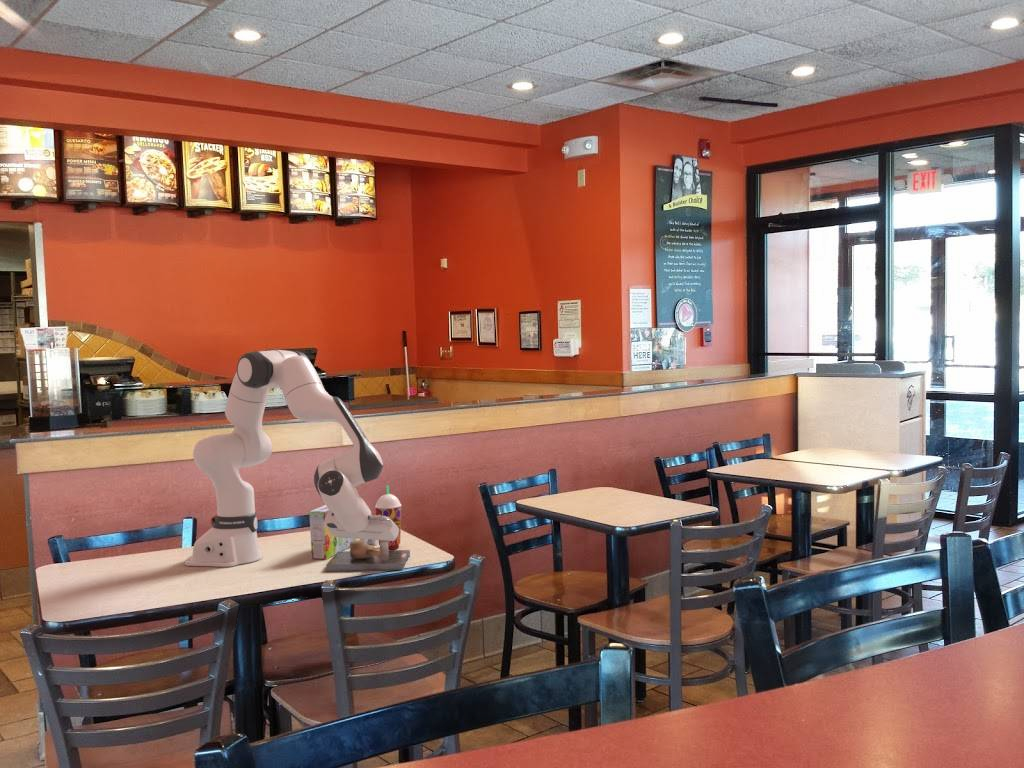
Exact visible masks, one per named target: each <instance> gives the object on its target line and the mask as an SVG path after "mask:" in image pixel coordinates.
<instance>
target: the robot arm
mask: <svg viewBox="0 0 1024 768" xmlns="http://www.w3.org/2000/svg"><path fill="white" fill-rule="evenodd" d="M278 388H281V391H282V393H283V396H284V400H285V402H286V404H287V407H288V409H289V411H290V413H291V414H292V415H293V417H295V418H296V419H298V420H299V421H302V422H307V423H326V422H327V423H329V422H330V423H338V424H339V425H340V426H341V427H342V429H343V430H344V432H345V433H346V435H347V436H348V438H349V440H350V441H351V442H352V444H353V446H352V447H353V448H352V449H350V450H348V451H346V452H344V453H341V454H339V455H337V456H334V457H332V458H329V459H327V460H325V461H323V462H321V463H320V464H318V465H317V467H316V469H315V471H314V475H313V482H314V487H315V489H316V491H317V493H318V495H319V496H320V498H321V499H322V501H323V503H324V505H326V506H327V507H328V509H329V511H328V513H327V515H326V517H325V520H324V525H325V526H326V527H327V529H328V531H329V532H330V533H331V535H333V536H335V537H339V538H355V539H356V540H362V541H364V542H366V544H367V545H374V547H375V546H376V547H378V545H379V540H387V541H395V540H396V538H397V536H398V534H399V528H398V527H397V525H396V524H395V523H394V522H393V521H392V520H391V519H390V518H388V517H386V516H376V514H375V515H372V511H371V509H370V507H369V506H368V505H367V503H366V502H365V500H364V499H363V498H362V497H361V496H360V495H359V492H358V489H357V488H356V487H358V486H360V485H362V484H364V483H368V482H371V481H374V480H376V479H378V478H379V477H380V475H381V474H382V472H383V469H384V462H383V459H382V457H381V455H380V453H379V451H378V450H377V449H376V448H375V447H374V446H373V445H372V443H371V442H370V441H369V439H368V438H367V436H366V434H365V433H364V431H363V430H362V428H361V426H360V425H359V423H358V422H357V420H356V419H355V417H354V415H353V414H352V413H351V411H350V410H349V408H348V407H347V405H346V404H345V403H344V402H343V400H342V399H341V398H339V397H338V396H332V395H330V394H329V393H328V392H327V391H326V389H325V386H324V385H323V382H322V380H321V378H320V376H319V373H318V372H317V370H316V369H315V366H314V365H313V363H311V361H310V359H309V357H308V355H306V354H305V353H304V352H301V351H297V350H293V349H292V350H285V349H284V350H283V349H272V350H261V351H257V350H254V351H248V352H245V353H244V354H242V355H240V358H239V359H238V362H237V364H236V372H235V375H234V377H233V380H232V383H231V386H230V389H229V394H228V396H227V401H226V404H225V408H224V415H225V417H226V420H227V421H228V422H230V424H232V425H233V427H234V428H233V431H232V432H231V433H224V434H213V435H211V436H208V437H204V438H202V439H200V440H198V441H197V442H196V443H195V445H194V448H193V451H192V452H193V453H192V457H193V462H194V463H195V465H196V467H197V468H198V469H199V470H200V471H202V472H203V473H205V474H206V475H207V476H208V478H209V479H210V481H211V483H212V485H213V488H214V491H215V497H216V498H215V499H216V510H217V511H216V512H217V513H216V514H214V516H212V517H211V518H210V520H209V524H211V528H209V529H208V530H207V531H206V532H205V533H204V534H202V535H201V536H200V537H199V538H198V539H197V540H195V542H194V544H193V547H192V548H193V549H192V555H190V556H188V557H187V558H186V559H185V561H184V564H185V566H188V567H189V566H190V567H191V566H193V567H221V568H226V567H227V568H228V567H229V568H230V567H234V566H237V565H238V566H239V565H243V564H249V563H254V562H256V561H259V560H261V559H262V558H263V555H262V551H261V549H260V544H259V540H258V539H259V538H258V534H257V531H258V518H257V517H258V516H257V511H256V506H255V504H256V503H255V490H254V489H255V488H254V487H253V485H252V484H250V483H249V482H248V481H246V480H243V479H242V477H241V474H240V470H239V469H243V468H249V467H254V466H258V465H260V464H261V463H265V462H267V461H268V460H269V459H270V457H271V456H272V452H273V443H272V440H271V439H270V437H269V436H268V435H267V433H265V431H264V429H263V418H264V413H265V408H266V405H267V402H268V396H269V393H270V389H278Z"/></svg>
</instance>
